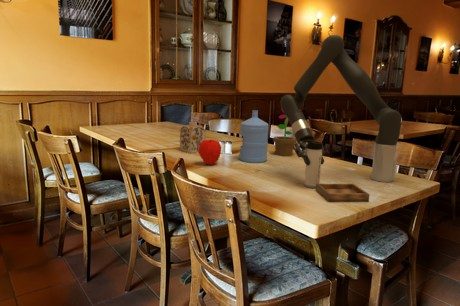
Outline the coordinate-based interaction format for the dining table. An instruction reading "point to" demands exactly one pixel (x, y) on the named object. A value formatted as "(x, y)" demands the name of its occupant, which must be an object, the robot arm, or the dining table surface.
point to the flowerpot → (284, 140)
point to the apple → (210, 151)
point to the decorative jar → (191, 137)
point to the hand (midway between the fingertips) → (315, 163)
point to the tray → (342, 193)
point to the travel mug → (313, 164)
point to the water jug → (254, 139)
